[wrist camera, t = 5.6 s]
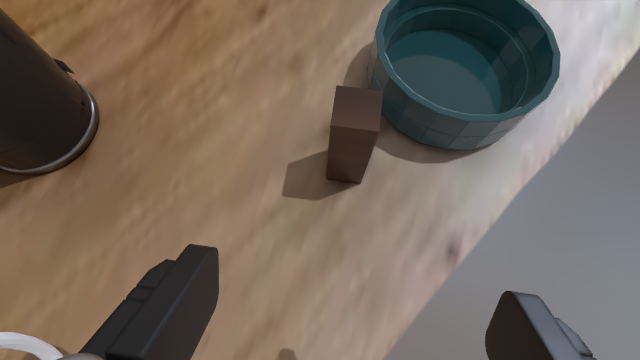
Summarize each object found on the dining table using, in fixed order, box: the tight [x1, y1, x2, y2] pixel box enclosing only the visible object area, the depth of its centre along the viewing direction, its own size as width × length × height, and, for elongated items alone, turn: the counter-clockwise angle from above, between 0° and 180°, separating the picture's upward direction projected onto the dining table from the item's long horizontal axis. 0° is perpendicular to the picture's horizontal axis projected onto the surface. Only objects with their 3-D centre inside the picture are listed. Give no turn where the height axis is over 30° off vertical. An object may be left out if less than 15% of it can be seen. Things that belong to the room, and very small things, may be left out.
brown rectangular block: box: [326, 86, 383, 184], centre depth 25 cm, size 3×3×9 cm
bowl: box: [367, 0, 560, 150], centre depth 30 cm, size 15×15×6 cm
